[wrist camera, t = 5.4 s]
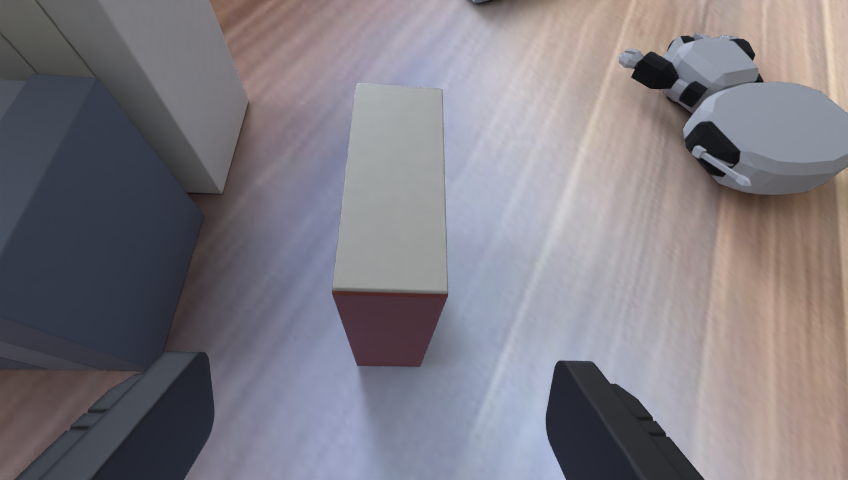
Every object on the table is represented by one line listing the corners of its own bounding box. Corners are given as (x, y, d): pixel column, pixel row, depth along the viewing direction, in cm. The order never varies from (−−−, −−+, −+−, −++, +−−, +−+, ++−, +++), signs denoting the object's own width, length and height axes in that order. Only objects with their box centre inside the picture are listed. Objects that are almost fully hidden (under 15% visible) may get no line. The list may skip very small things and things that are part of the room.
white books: (97, 188, 24) (-206, -86, 12) (141, 93, 28) (-54, -191, 16) (222, 194, 25) (58, -63, 12) (249, 100, 28) (143, -170, 16)
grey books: (-18, 368, 19) (-517, 267, 9) (62, 208, 23) (-208, 7, 13) (157, 371, 20) (-107, 279, 9) (204, 214, 24) (60, 27, 13)
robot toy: (593, 83, 33) (710, 229, 26) (618, 31, 30) (764, 184, 22) (711, 63, 36) (848, 191, 29) (749, 12, 32) (918, 144, 25)
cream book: (356, 366, 21) (330, 291, 11) (367, 228, 24) (355, 82, 15) (420, 367, 21) (449, 295, 11) (420, 231, 25) (443, 88, 15)
